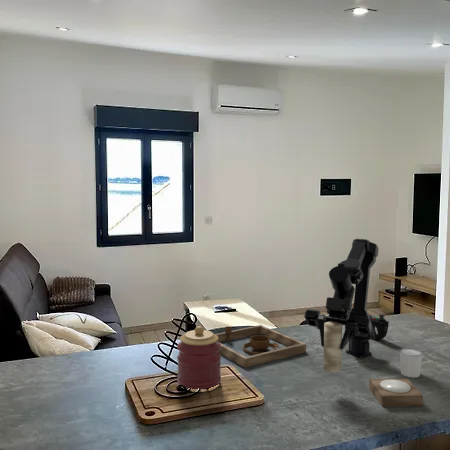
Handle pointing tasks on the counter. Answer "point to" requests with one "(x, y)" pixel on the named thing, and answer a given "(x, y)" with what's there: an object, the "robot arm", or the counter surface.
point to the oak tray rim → (293, 349)
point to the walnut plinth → (395, 392)
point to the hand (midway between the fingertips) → (331, 347)
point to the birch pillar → (332, 346)
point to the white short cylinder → (410, 362)
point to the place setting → (254, 343)
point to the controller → (379, 326)
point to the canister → (199, 359)
